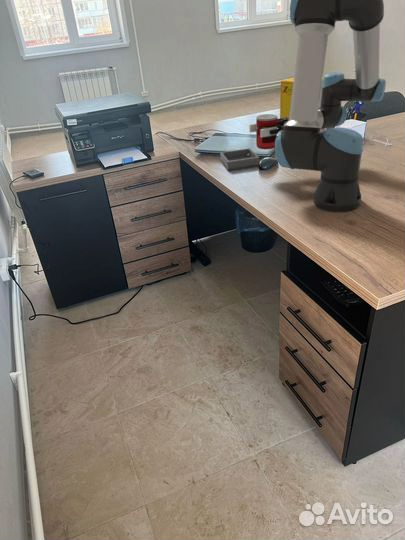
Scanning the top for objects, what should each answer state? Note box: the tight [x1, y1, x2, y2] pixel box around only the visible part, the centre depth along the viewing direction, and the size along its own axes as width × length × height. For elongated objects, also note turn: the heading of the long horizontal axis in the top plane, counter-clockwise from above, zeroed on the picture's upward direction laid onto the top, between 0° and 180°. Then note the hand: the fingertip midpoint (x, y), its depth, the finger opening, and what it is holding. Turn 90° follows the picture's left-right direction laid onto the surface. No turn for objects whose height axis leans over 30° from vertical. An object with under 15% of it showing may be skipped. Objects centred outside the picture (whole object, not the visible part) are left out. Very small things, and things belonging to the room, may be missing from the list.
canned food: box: [255, 113, 279, 150], centre depth 150 cm, size 8×8×11 cm
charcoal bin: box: [219, 147, 260, 172], centre depth 172 cm, size 14×14×4 cm
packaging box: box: [279, 76, 326, 133], centre depth 197 cm, size 16×16×25 cm
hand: (255, 130), depth 148 cm, fingers closed on canned food, 8 cm apart
